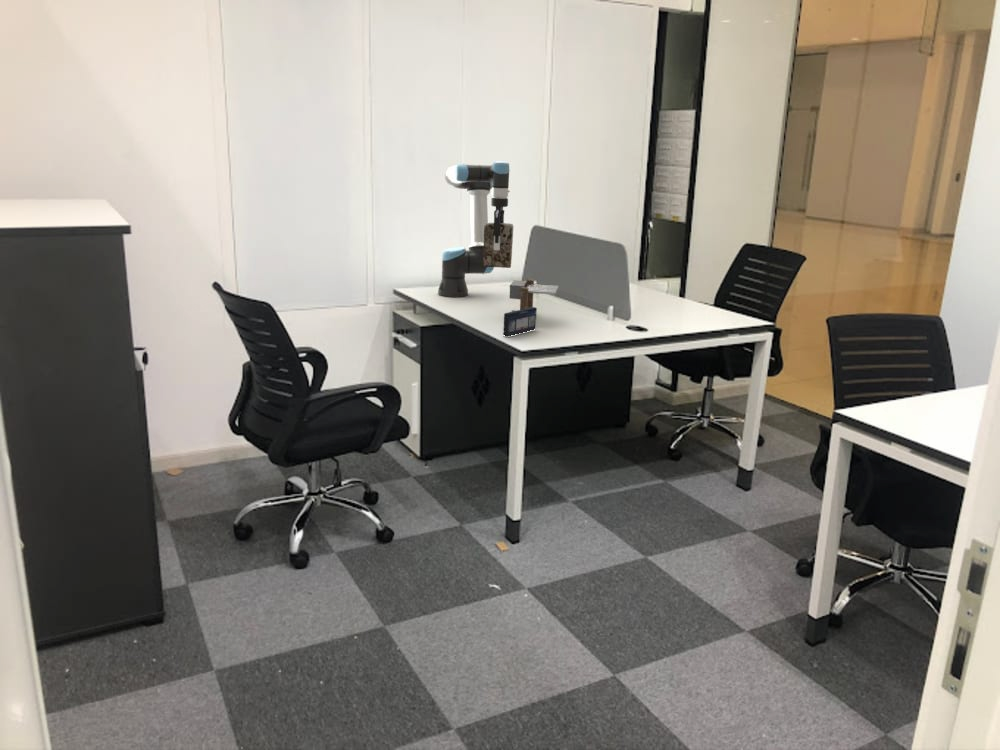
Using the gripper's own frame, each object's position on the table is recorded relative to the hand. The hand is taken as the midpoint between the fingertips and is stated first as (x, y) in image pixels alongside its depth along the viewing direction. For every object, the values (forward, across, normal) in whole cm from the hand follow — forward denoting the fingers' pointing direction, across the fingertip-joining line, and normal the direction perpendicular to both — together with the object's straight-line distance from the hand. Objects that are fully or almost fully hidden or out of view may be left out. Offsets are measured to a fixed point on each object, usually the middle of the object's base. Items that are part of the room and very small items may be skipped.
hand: (497, 248), depth 365 cm
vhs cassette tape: (+29, -39, -17) cm, 52 cm away
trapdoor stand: (+29, -12, -13) cm, 34 cm away
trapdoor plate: (+19, -12, -19) cm, 29 cm away
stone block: (+9, 0, 0) cm, 9 cm away
